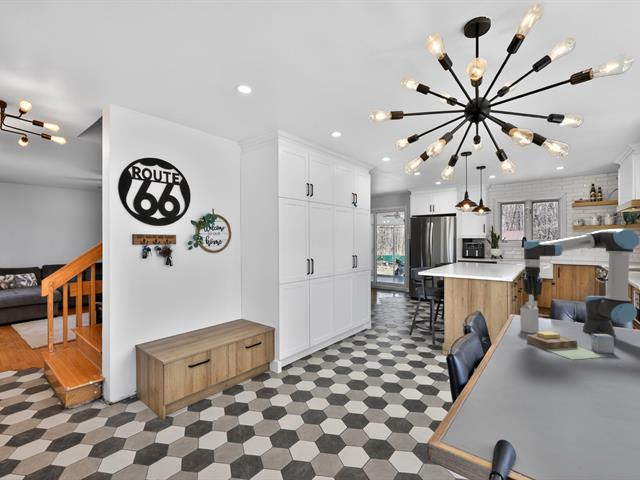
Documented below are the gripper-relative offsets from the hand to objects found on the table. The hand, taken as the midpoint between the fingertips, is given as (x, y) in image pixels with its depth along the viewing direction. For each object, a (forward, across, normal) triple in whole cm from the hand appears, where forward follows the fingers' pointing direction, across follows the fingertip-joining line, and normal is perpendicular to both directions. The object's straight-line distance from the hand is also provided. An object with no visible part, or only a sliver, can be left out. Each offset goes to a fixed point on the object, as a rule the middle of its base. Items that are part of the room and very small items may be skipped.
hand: (532, 305), depth 187 cm
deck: (+19, +12, 0) cm, 23 cm away
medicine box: (+20, +26, +16) cm, 37 cm away
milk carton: (+20, -13, +10) cm, 25 cm away
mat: (+19, +26, 0) cm, 32 cm away
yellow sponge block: (+15, +10, 0) cm, 18 cm away
